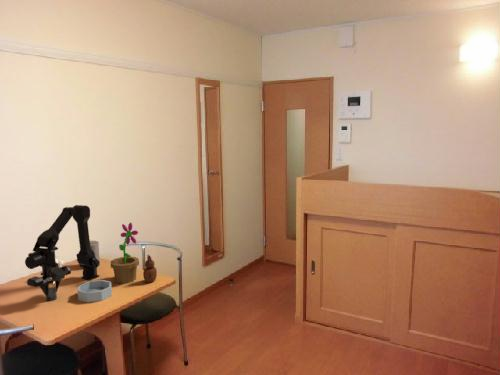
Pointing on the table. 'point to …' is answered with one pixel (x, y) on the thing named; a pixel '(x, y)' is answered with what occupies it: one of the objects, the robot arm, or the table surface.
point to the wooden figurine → (149, 270)
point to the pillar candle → (95, 248)
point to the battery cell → (51, 290)
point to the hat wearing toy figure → (58, 262)
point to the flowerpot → (125, 259)
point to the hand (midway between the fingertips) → (51, 293)
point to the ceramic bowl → (94, 291)
